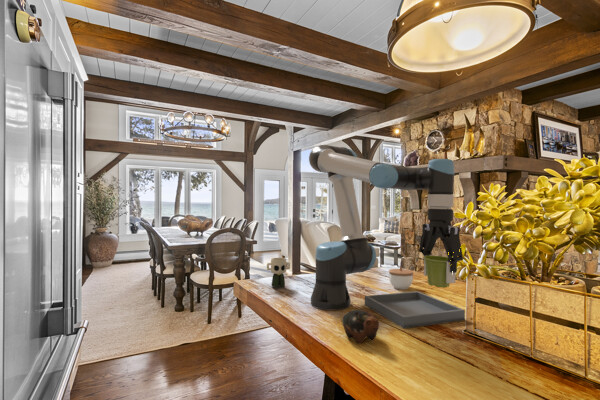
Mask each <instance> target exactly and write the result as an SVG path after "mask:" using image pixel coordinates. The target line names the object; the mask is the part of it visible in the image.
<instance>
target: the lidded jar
mask: <svg viewBox="0 0 600 400" xmlns="http://www.w3.org/2000/svg"><path fill="white" fill-rule="evenodd" d="M388 270H389V271H388V273H389V274H388V277H389V283H390V284H391V286H392V287H393V288H394V289H395V290H403V291H404V290H409V289H408V288H410V287H411V286H412V283H413V281H414V280H413V279H414V271H412V270H410V269H405V268H404V269H403V267H399V268H392V269H388Z"/></svg>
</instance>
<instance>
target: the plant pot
mask: <svg viewBox="0 0 600 400" xmlns="http://www.w3.org/2000/svg"><path fill="white" fill-rule="evenodd" d="M423 259H425V263H426V267H427V282H428V283H427V284H428V285H429V286H430V287H432V286H433V287H436V288H443V289H446V288H448V287H450V284H451V283H446V267H447V260H449V259H448V256H445V255H444V256H441V255H432V256H424V255H423Z"/></svg>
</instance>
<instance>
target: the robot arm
mask: <svg viewBox="0 0 600 400" xmlns="http://www.w3.org/2000/svg"><path fill="white" fill-rule="evenodd" d="M308 162H309V165H310V166H311V168H312V169H313V170H314V171H316V172H319V173H325V174H327V177H328V181H330V182H331V183H332V186H333V191H334V192H333V193H334V197H335V203H336V208H337V215H338V220H339V221H338V222H339V226H340V233H341V238H340V239H339V241H336V240H334V241H328V242H322V243H319V244H318V245H317V246H316V248H315V284H314V287H313V290H312V293H311V296H310V305H312V307H314V308H317V309H320V310H328V311H336V310H337V311H338V310H345V309H347V308H350V307H351V296H350V293H349V291H348V287H347V275H351V274H356V273H359V274H360V273H364V272H367V271H369V270H371V269H372V268H373V267H374V265H375V264H376V262H377V261H376V260H377V251H376V249H375V247H374V246H373V244H371V243H369V241H368V237H367V236H366V235H365V234H363V228H362V223H361V217H360V213H359V208H358V202H357V197H356V192H355V187H354V180H353V179H355V180H359V181H362V182H366V183H369V184H371V185H373V187H375V188H378V189H379V188H380V189H382V190H387V189H392V190H393V189H396V190H400V191H417V190H425V191H427V205H426V206H427V207H428V209H427V212H426V213H427V220H428V221H429V222H428V223H423V224H422V231H421V237H420V243H419V248H418V252H419V253H422V255H423V257H424V256H433V253H432V252H433V249H434V247H435V244H436V243H437V240H438V239H440V241H442V243H443V247H444V250H445V253H446V257H448V259H449V260H447V267H446V283H450V284H455V283H456V274H457V272H458V262H461V261H463V260H464V256H463V250H462V244H461V238H460V231H461V230H460V227H458V226H453V225H452V221H453V220H454V210H453V209H452V208H453V207H454V197H455V196H454V195H455V193H454V185H455V183H454V182H455V162H454V161H453V160H452V159H449V158H434V159H430V160H429V161H428V165H427V166H423V167H422V166H421V167H410V166H409V167H408V166H401V165H394V164H388V163H384V162H379V161H374V160H370V159H366V158H361V157H358V154H357V153H356V152H355V151H354V150H352V149H350V148H347V147H346V146H345V147H344V146H343V147H342V146H333V145H327V144H320V145H317V146H314V148H313V149H312V150H311V151H310V153H309V157H308ZM460 247H461V248H460ZM459 249H460V252H459ZM448 252H449V255H448ZM453 252H454V253H453ZM450 260H451V261H450ZM449 263H450V264H449ZM451 264H452V265H451ZM450 265H451V266H450ZM452 271H453V276H452ZM423 276H427V267H426V263H425V259H424V258H423ZM427 277H428V276H427Z"/></svg>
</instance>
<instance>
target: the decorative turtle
mask: <svg viewBox="0 0 600 400" xmlns="http://www.w3.org/2000/svg"><path fill="white" fill-rule="evenodd" d="M341 322H342V326H343V329H344V332H345V334H346V335H345V336H346V337H347V338H348V339H351V338H353V339H354V341H355V343H356V344H357V345H360V344H362V343H363V342H364V340H365V339H366V338H367V339H368V340H370V341H374V340H375V339H376V335H377V333H378V330H379V327H380V324H379V323H380V322H379V320H378V318H376V317H375V316H373V314H371V313H370V312H368V311H366V310H362V309H352V310H350V311H347V313H345V314H344V315H343V316H342V318H341Z"/></svg>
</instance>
